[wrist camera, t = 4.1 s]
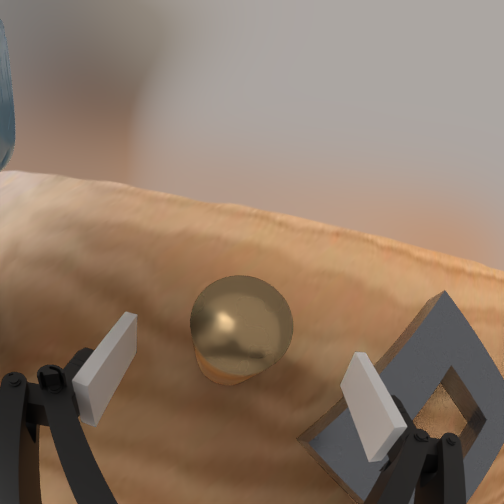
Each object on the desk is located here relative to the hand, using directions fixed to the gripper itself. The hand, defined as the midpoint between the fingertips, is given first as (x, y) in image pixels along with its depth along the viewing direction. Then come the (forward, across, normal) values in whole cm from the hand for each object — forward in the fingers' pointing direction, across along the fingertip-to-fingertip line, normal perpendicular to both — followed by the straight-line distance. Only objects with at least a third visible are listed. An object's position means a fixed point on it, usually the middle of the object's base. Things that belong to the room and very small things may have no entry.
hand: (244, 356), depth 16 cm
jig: (+1, +20, -8) cm, 22 cm away
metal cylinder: (+6, -1, -4) cm, 7 cm away
